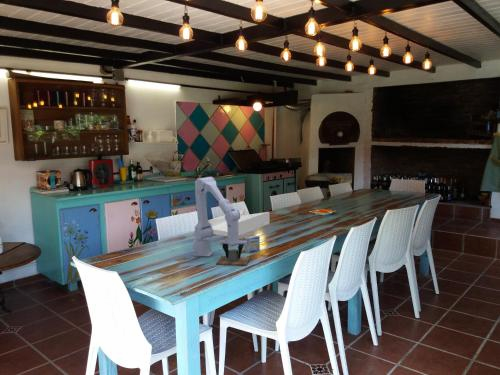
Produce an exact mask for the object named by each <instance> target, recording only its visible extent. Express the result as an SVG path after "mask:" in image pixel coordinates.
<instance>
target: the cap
mask: <svg viewBox="0 0 500 375" xmlns="http://www.w3.org/2000/svg"><path fill="white" fill-rule="evenodd" d="M238 254H239V252H238V249H236V248H232V249H231V248H230V249H228V261H231V262H235V261H238V260H239V259H238Z"/></svg>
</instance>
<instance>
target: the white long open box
mask: <svg viewBox="0 0 500 375" xmlns="http://www.w3.org/2000/svg"><path fill="white" fill-rule="evenodd" d="M238 211H239V212H240V219H239V220H238V237H240V236H242V235H244V234H248V233H251V232H252V231H255V230H257V229H259V228H262V227H264V226H265V227H266V226H268V225H270V211H264V212H259V213H252V214H246V210H245V208H244V209H240V210H238ZM208 222H209V223H210V224H211V226H212V229H213V235H217V236H223V237H224V236H225V237H228V230H227V222H226V220H225V214H224V215H221V216H218V217H214V218H211V219H208Z"/></svg>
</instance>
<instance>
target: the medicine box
mask: <svg viewBox="0 0 500 375" xmlns="http://www.w3.org/2000/svg"><path fill="white" fill-rule="evenodd" d="M260 239H261V238H260V236H259V235H257V234H256V235H255V234H254V235H250V236H245V237H244V240H243V241H247V245H244V252H245V253H248V254H253V253H257V252H260V250H261V249H260V247H261V245H260V244H261V243H260V241H261V240H260Z"/></svg>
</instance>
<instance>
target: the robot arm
mask: <svg viewBox="0 0 500 375" xmlns="http://www.w3.org/2000/svg"><path fill="white" fill-rule="evenodd" d="M194 187H195V189H194V195H195V196H194V197H195V204H196V205H195V206H196V213H197V214H196V215H197V223H196V225H195V226H194V231H193V232H194V233H193V234H194V240H193V242H192V243H193V244H192V248H193V249H192V250H193V257H210V256H211V255H212V254H213V253H214V251H212V248H211V239H212V237H213V235H214V234H213V229H212V226H211V224H210V223H209V222H208V220H209V219H208V210H207V199H206V194H207V192H210V193H211V194H212V196H213V197H214V198H215V199H216V201H217V202H218V208H220V210H221V211H222V212H223V214H224V215H225V220H226V222H227V230H228V236H227V239H220V240H219V241H218V242H219V243H218V244H219V245H220V246H221V245H222V246H221V247H222V249H223V251H224V253H225V256H226V258H228V250H229V246H231V245H232V246H234V245H235V246H236V245H237V248H238V249H237V250H238V259H240V257H242V256H241V255H242V252H243V248H244V247H245V245H247V241H244V240H243V239H242V240H241V239H239V236H238V220H239V219H240V212H239V211H240V210H238V209H236V208H235V207H233V205H232V203H230V202H231V201H229V199H227V198H225V197H224V196H223V195H222V192H221V190H220V189H219V188H218V185H217V181H216V180H215V178H214V177H213V176H206V177H198V178H197V179H196V180H195V182H194Z"/></svg>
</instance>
